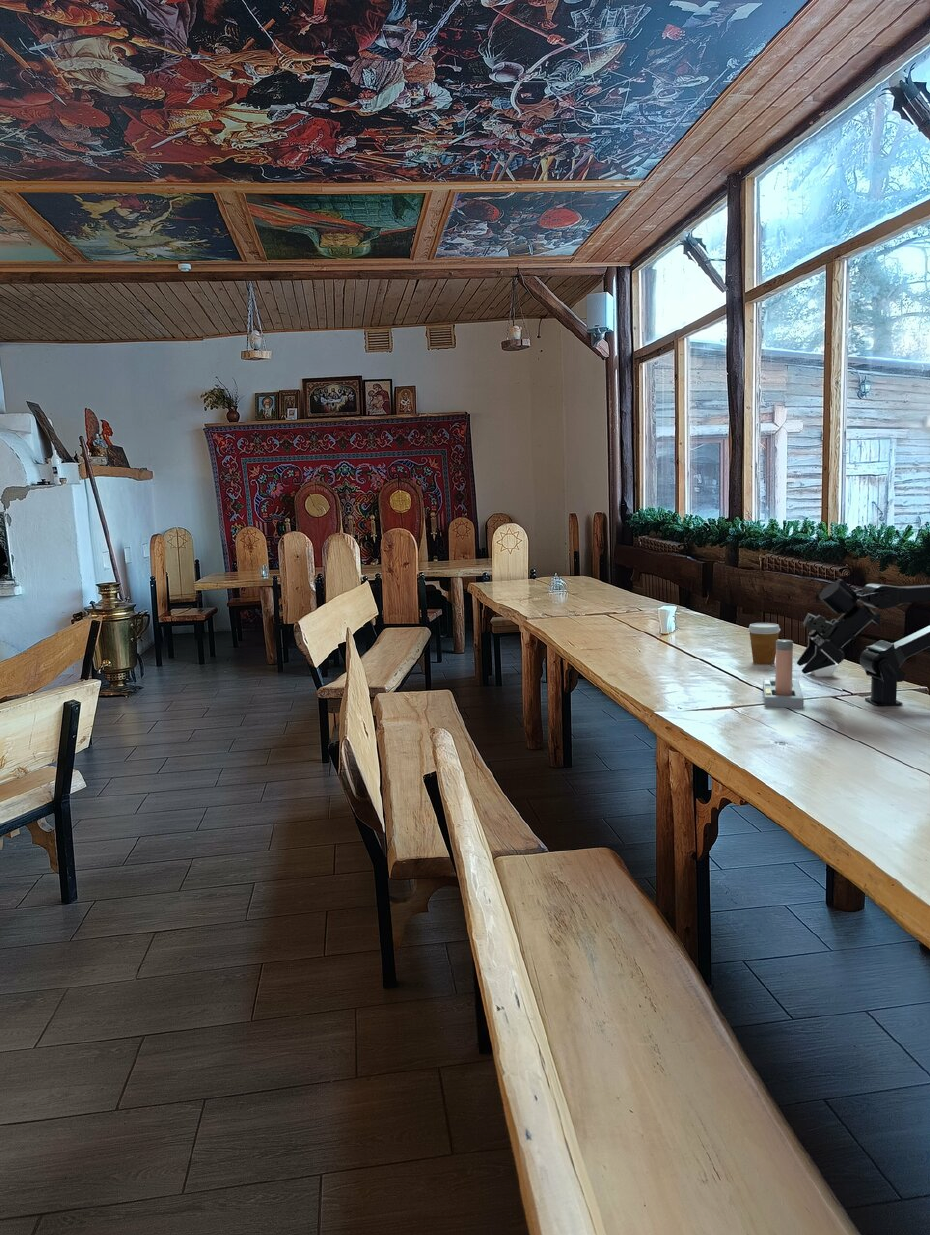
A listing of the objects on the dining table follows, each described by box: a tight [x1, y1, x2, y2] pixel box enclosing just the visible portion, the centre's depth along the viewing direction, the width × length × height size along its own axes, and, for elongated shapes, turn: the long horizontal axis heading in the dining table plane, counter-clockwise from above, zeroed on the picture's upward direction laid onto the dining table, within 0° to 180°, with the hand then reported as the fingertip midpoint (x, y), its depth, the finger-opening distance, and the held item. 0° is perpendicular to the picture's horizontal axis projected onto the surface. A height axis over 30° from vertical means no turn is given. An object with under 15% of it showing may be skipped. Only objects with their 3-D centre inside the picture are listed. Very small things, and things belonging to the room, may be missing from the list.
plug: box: [774, 639, 794, 696], centre depth 204 cm, size 4×4×16 cm
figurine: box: [810, 662, 840, 678], centre depth 231 cm, size 7×9×15 cm
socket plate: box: [762, 678, 805, 709], centre depth 209 cm, size 20×9×3 cm, turn 161°
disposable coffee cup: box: [747, 622, 781, 666], centre depth 251 cm, size 10×10×12 cm
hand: (800, 668), depth 203 cm, fingers open, 9 cm apart
